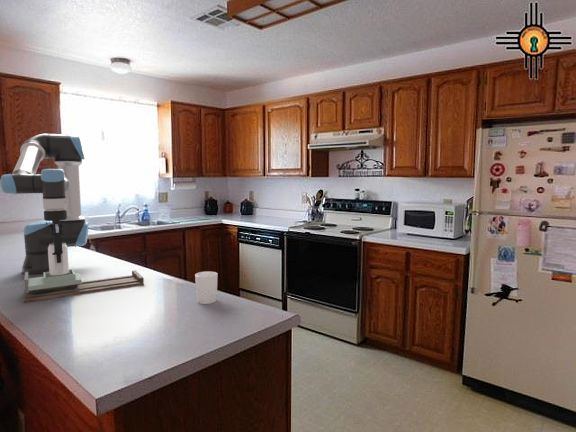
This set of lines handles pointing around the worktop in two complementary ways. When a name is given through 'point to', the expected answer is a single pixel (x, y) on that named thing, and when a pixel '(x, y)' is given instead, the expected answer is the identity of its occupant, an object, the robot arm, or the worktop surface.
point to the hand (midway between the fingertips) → (58, 269)
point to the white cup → (206, 287)
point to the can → (52, 260)
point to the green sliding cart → (51, 281)
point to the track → (87, 287)
